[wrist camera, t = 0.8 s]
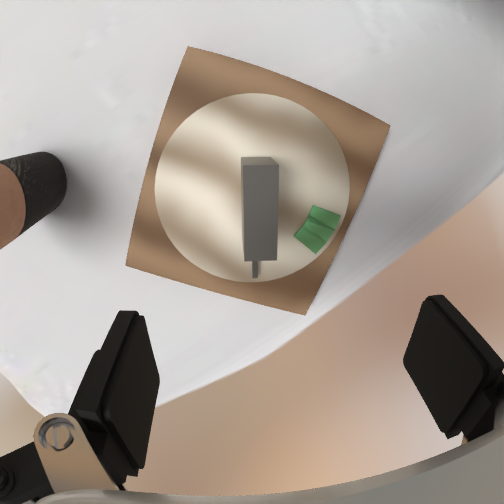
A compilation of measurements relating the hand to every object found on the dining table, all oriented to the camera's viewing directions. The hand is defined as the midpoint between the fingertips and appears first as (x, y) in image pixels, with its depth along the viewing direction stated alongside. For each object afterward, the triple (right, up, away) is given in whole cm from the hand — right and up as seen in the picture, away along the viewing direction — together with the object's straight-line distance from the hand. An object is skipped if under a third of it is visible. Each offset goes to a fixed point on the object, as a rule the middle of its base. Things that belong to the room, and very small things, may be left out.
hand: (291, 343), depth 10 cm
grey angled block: (-1, +6, +19) cm, 19 cm away
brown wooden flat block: (-1, +10, +21) cm, 23 cm away
